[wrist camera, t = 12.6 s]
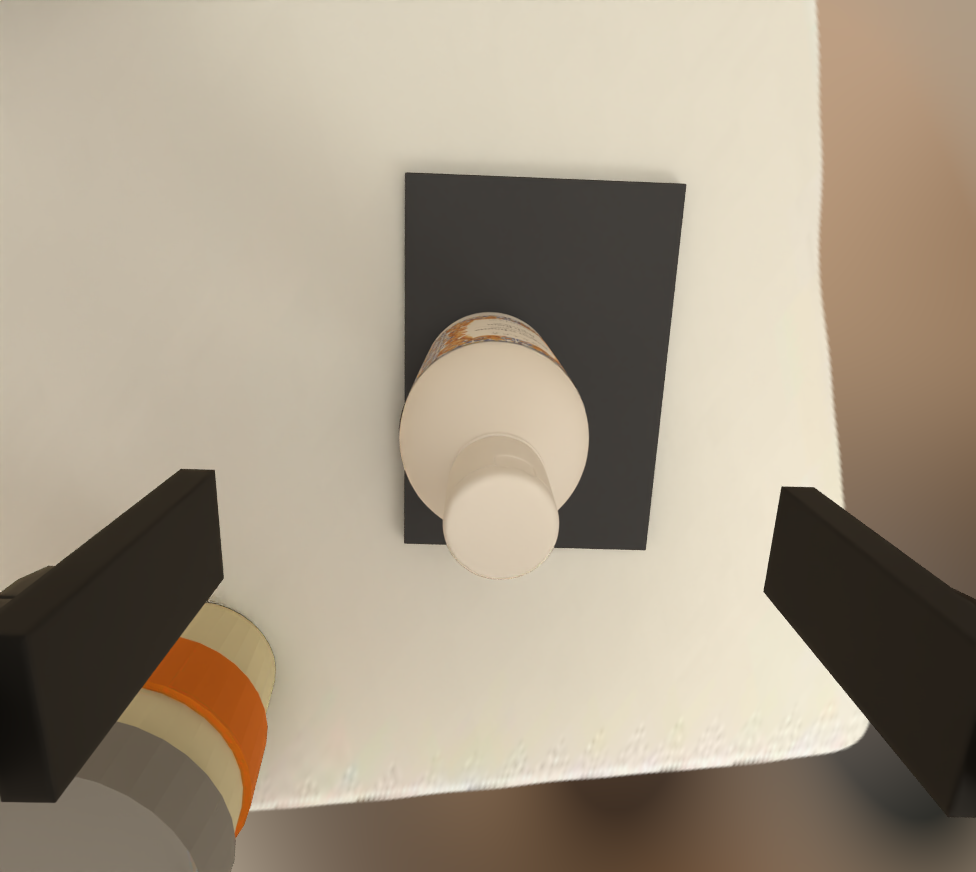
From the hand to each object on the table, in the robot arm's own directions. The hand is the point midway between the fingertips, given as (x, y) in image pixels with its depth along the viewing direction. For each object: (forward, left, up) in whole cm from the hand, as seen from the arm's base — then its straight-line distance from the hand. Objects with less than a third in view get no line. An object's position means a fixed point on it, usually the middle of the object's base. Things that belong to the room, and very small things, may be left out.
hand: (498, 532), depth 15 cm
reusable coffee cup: (+19, -17, -22) cm, 34 cm away
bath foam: (0, 0, -21) cm, 21 cm away
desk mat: (0, +3, -22) cm, 22 cm away
